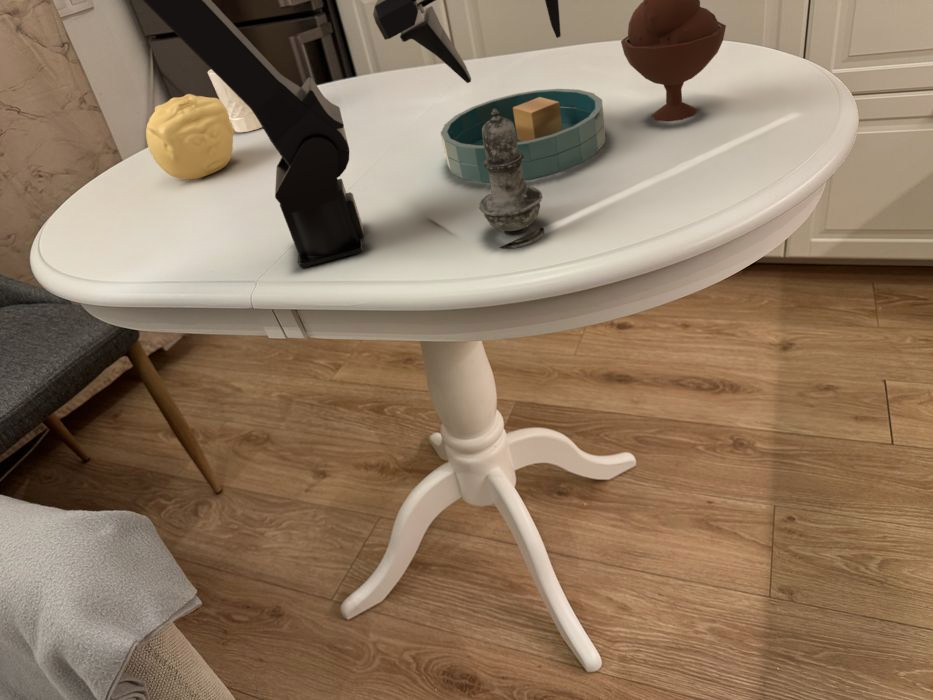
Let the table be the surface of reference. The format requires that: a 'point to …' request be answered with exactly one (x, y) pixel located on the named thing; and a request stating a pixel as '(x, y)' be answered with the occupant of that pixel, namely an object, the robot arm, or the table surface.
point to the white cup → (234, 106)
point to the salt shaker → (508, 184)
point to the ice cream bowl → (672, 48)
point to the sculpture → (190, 136)
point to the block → (537, 119)
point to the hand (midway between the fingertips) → (513, 59)
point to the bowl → (541, 154)
